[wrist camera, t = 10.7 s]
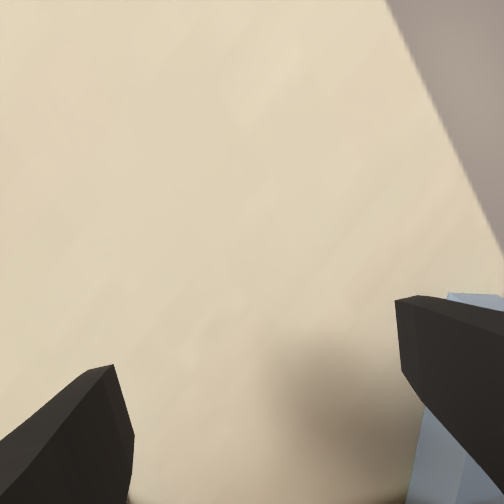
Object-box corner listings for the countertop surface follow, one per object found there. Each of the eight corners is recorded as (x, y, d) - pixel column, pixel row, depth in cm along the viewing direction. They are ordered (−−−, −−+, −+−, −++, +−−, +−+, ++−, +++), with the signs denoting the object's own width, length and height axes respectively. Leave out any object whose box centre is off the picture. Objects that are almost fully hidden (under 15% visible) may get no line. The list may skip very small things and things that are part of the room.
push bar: (402, 504, 25) (439, 569, 22) (445, 291, 22) (497, 321, 18) (445, 503, 26) (489, 565, 22) (493, 293, 23) (554, 323, 19)
